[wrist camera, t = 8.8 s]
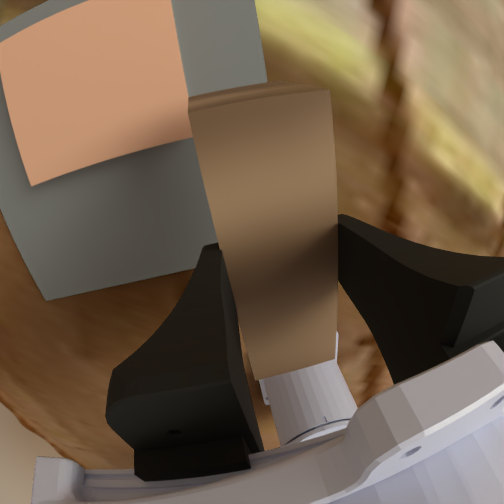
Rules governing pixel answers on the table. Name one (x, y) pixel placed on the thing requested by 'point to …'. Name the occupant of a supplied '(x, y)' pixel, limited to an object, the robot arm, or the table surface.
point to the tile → (94, 85)
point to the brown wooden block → (274, 216)
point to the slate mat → (128, 172)
